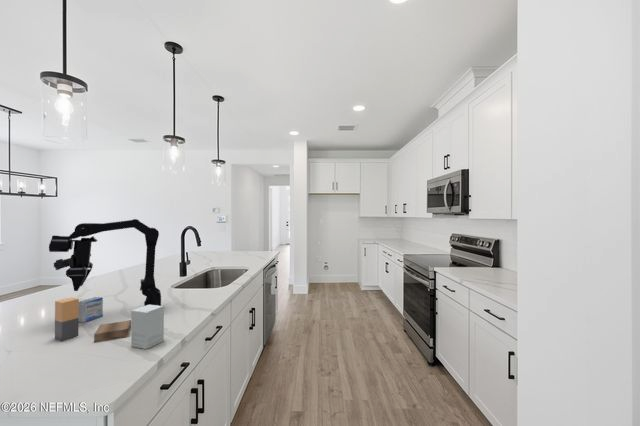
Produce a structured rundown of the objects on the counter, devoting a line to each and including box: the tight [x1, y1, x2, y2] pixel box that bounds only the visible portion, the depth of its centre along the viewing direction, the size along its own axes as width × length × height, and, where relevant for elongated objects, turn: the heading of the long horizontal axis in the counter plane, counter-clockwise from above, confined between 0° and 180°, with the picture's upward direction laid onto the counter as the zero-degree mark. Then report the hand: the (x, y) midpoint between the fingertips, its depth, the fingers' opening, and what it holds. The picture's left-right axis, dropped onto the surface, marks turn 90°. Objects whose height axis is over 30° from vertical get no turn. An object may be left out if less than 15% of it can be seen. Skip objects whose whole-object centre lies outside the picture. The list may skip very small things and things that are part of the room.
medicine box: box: [79, 296, 104, 323], centre depth 123 cm, size 8×4×9 cm, turn 168°
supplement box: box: [130, 304, 165, 350], centre depth 99 cm, size 7×7×13 cm
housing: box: [54, 297, 80, 343], centre depth 104 cm, size 5×5×14 cm
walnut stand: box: [93, 319, 131, 343], centre depth 107 cm, size 10×10×3 cm
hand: (78, 288), depth 120 cm, fingers open, 9 cm apart
